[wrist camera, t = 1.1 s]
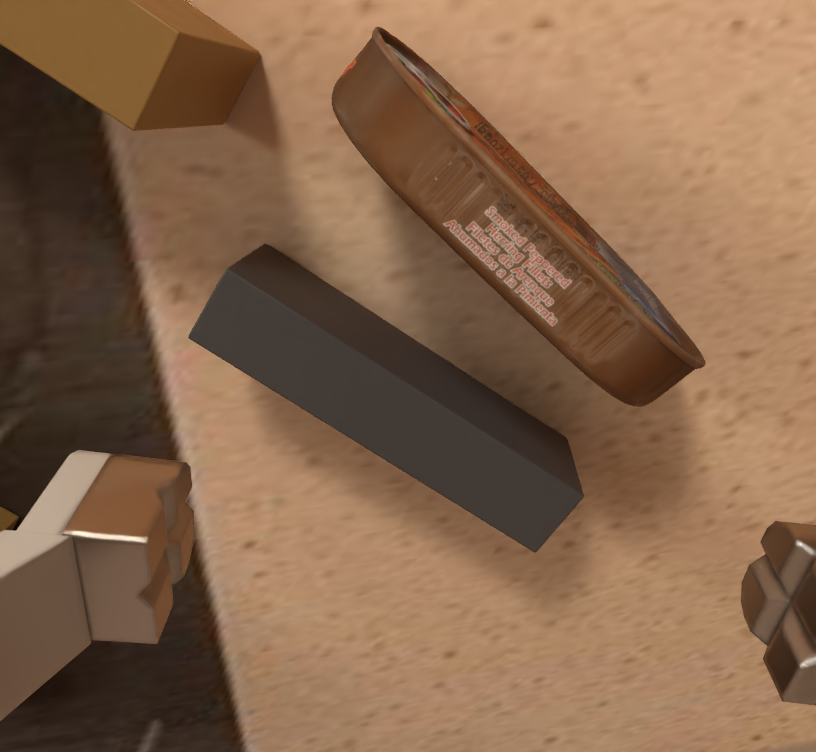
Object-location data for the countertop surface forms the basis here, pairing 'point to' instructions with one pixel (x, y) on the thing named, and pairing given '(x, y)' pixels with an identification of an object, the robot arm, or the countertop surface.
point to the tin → (509, 223)
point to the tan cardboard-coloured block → (7, 519)
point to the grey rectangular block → (390, 395)
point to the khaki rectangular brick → (133, 57)
